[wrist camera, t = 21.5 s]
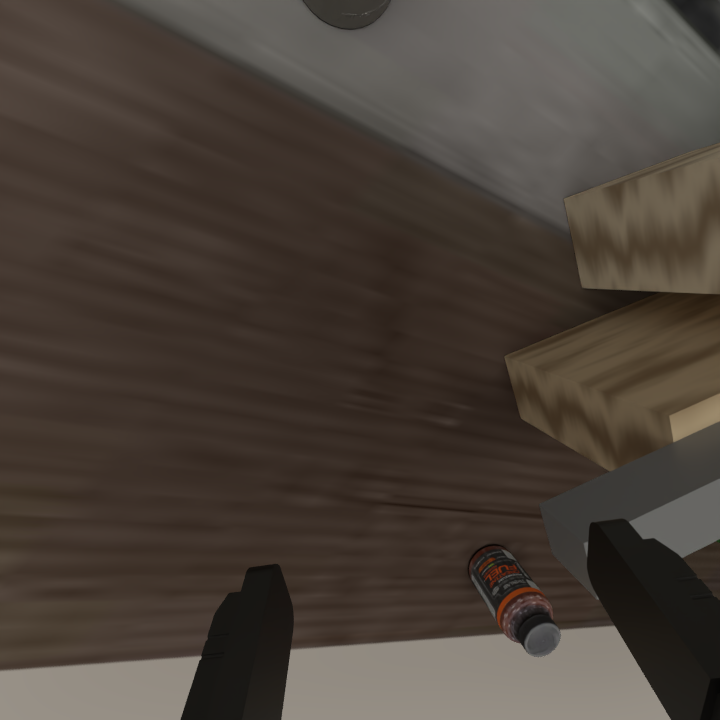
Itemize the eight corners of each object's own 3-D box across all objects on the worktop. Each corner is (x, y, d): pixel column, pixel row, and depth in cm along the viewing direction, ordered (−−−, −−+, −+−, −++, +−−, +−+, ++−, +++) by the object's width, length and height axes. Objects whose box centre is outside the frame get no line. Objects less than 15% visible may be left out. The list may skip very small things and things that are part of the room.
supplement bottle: (497, 533, 51) (556, 603, 40) (518, 565, 53) (580, 641, 42) (458, 562, 51) (506, 640, 40) (480, 593, 53) (532, 676, 42)
